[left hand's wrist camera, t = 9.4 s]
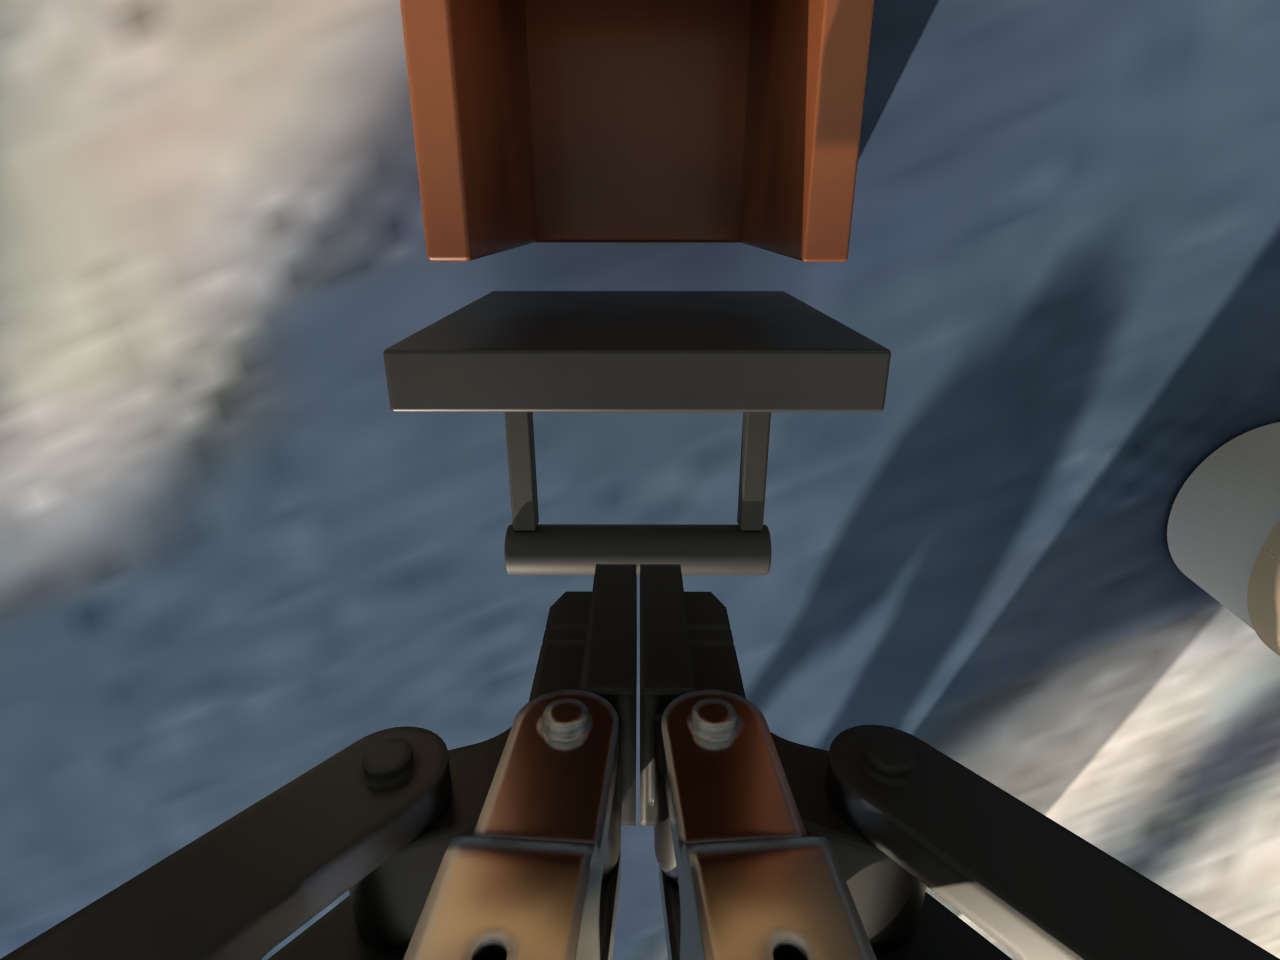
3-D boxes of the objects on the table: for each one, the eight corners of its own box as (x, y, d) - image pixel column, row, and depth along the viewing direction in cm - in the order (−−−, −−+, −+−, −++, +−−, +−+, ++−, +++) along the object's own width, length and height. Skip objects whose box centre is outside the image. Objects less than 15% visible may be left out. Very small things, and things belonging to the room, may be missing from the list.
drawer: (770, 489, 24) (852, 662, 15) (505, 489, 24) (423, 662, 15) (837, -406, 16) (1104, -1243, 7) (438, -406, 16) (168, -1241, 7)
